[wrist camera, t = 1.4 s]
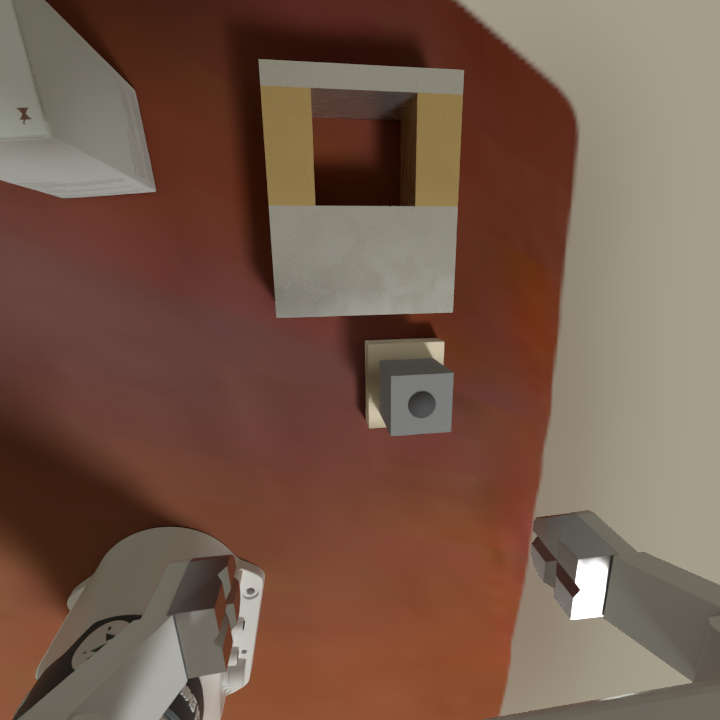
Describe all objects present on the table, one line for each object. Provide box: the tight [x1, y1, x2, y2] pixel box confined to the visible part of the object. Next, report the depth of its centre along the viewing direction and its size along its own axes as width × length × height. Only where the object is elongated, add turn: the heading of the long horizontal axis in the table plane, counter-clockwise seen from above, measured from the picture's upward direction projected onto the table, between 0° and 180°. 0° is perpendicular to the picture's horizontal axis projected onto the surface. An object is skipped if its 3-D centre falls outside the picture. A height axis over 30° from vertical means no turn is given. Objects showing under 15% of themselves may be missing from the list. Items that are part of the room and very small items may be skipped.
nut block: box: [379, 358, 454, 436], centre depth 32 cm, size 5×5×5 cm
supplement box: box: [0, 0, 156, 198], centre depth 22 cm, size 7×7×13 cm
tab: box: [365, 338, 444, 428], centre depth 35 cm, size 8×7×2 cm
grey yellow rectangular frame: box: [258, 59, 464, 318], centre depth 29 cm, size 17×14×5 cm
